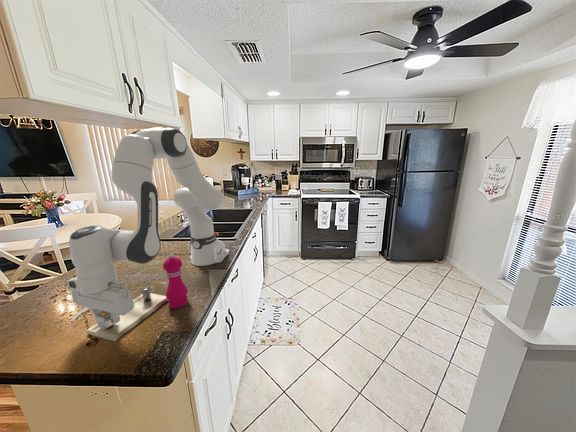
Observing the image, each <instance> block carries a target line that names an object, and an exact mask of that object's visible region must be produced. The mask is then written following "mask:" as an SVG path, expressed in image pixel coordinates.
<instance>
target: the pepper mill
mask: <svg viewBox="0 0 576 432" xmlns="http://www.w3.org/2000/svg"><path fill="white" fill-rule="evenodd" d="M182 267H183V263H182V260H181V259H180V258H179V257H177V256H175V254H174V253H170V254H169V255H168V258H166V259H165V260H164V262H163V270H164V271H165V274H166V277H167V278H168V284H167V287H166V290H165V291H166V292H165V296H166V298H167V299H168V306H169V307H170V308H172V309H178V308H181V307H183V306H186V304H187V303H188V296H187V295H188V293H189V292H188V287H187V286H186V284H185V283H184V281H183V280H182V276H181V274H182V272H183V271H182Z"/></svg>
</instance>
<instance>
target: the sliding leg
mask: <svg viewBox="0 0 576 432" xmlns="http://www.w3.org/2000/svg"><path fill="white" fill-rule="evenodd" d="M112 317H113V315H112V314H111V313H109V312H105V311H102V312H101V313H100V314H99V315H97V316H96V318H95V319H96V322H97V323H98V327H99V328H103V329H107V328H108V327H110V326H111V325H113V324H114V323H111V320H110V318H112ZM97 323H96V324H97Z"/></svg>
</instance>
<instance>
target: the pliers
mask: <svg viewBox="0 0 576 432" xmlns="http://www.w3.org/2000/svg"><path fill="white" fill-rule="evenodd" d="M89 311H90V312H91V310H90V308H88V307H83V309H81V310H80V311H79V312H77V313H76V314H75V315H74V316H73V317H72V319H71V320H70V321H71V323H74V322H75V321H76V320H77V319H78V318H79V317H80V316H81V315H83V314H85V313H86V312H89Z"/></svg>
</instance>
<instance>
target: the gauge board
mask: <svg viewBox="0 0 576 432" xmlns="http://www.w3.org/2000/svg"><path fill="white" fill-rule="evenodd" d="M150 294H151V298H150V299H149V300H148V301H146V300H144V299H143V294H142V293H141V294H140V295H139V296H137V297H135V298H134V299H133V302H134V308H133V310H131V311H130V312H128V313H127V314H125V315H120V321H119V322H118V323H116V324H113V325H111V326H110V327H108V328H107V329H103V328H99V327H98V323H95V324H94V325H92V326H90V327H89V328H88V329H86V332H87V334H88V335H90V336H94V337H97V338H102V339H105V340H108V341H113V342H116V341H117V340H118V339H120V338H121V337H122V336H124V335H125V334H126V333H127V332H129V331H130V330H132V329H133V328H134V327H136V325H138V324H139V323H141V322H142V321H143V320H145V319H146V318H147V317H148V316H150V315H151V314H152V313H153V312H155V311H156V310H158V309H159V308H160V307H162V306H163V305H164V304H165V303H166V302H169V300H168V299H167V298H166V295H163V294H162V295H161V294H158V293H157V294H156V293H151V292H150Z"/></svg>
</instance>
